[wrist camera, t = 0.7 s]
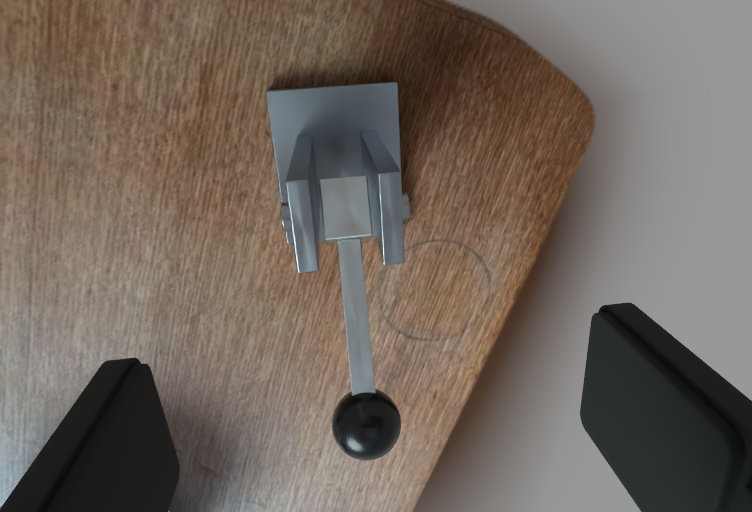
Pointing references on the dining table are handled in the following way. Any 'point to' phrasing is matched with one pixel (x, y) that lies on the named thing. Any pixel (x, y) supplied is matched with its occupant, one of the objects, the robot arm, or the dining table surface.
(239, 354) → the dining table surface
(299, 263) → the tap bracket
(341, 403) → the tap lever
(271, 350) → the dining table surface
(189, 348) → the dining table surface
